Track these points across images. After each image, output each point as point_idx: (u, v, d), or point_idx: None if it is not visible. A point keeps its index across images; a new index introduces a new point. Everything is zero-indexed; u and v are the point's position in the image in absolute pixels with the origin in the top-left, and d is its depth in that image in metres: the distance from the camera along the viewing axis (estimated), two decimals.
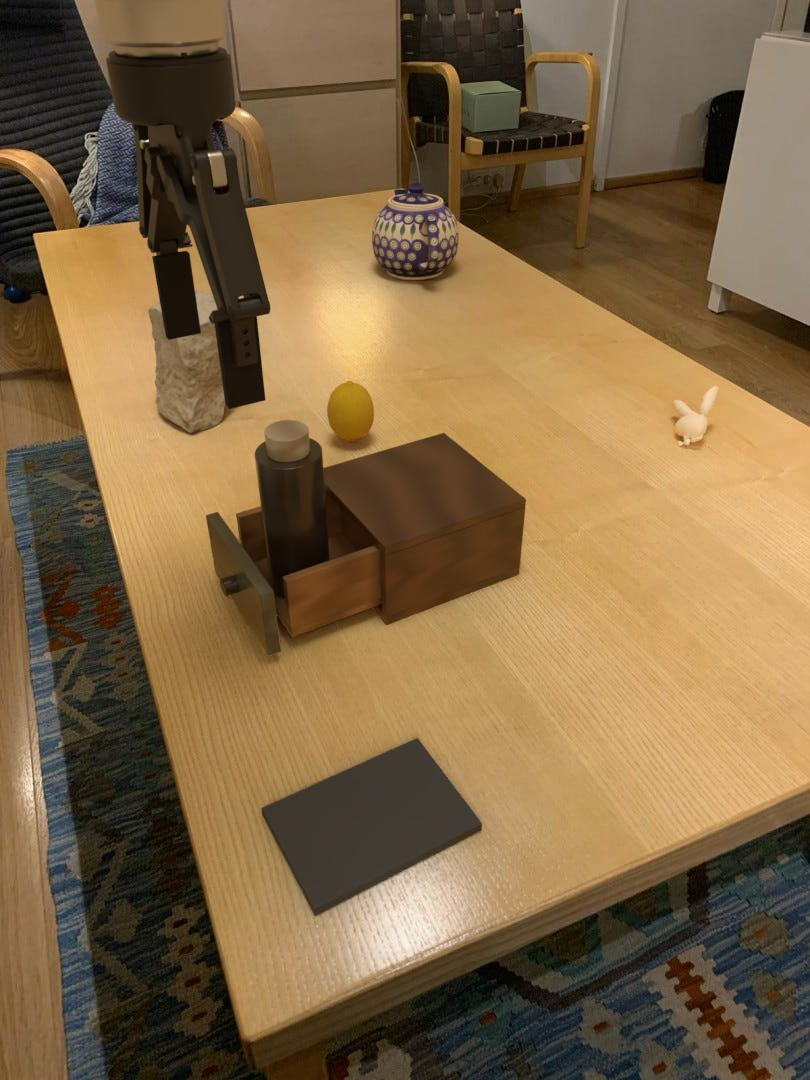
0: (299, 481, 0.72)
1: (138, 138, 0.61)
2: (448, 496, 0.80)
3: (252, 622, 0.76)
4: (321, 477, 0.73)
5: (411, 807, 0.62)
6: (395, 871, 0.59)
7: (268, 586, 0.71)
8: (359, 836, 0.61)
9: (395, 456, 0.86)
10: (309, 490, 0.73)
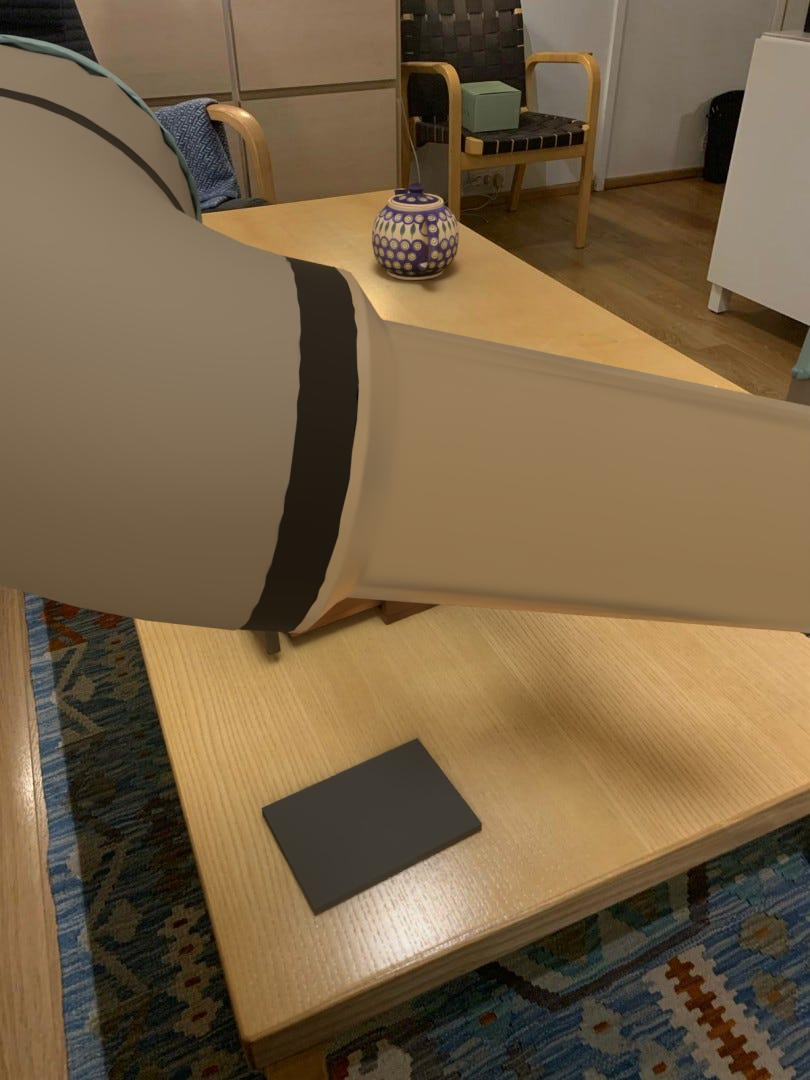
0: None
1: None
2: None
3: None
4: None
5: (411, 807, 0.62)
6: (395, 871, 0.59)
7: None
8: (359, 836, 0.61)
9: None
10: None
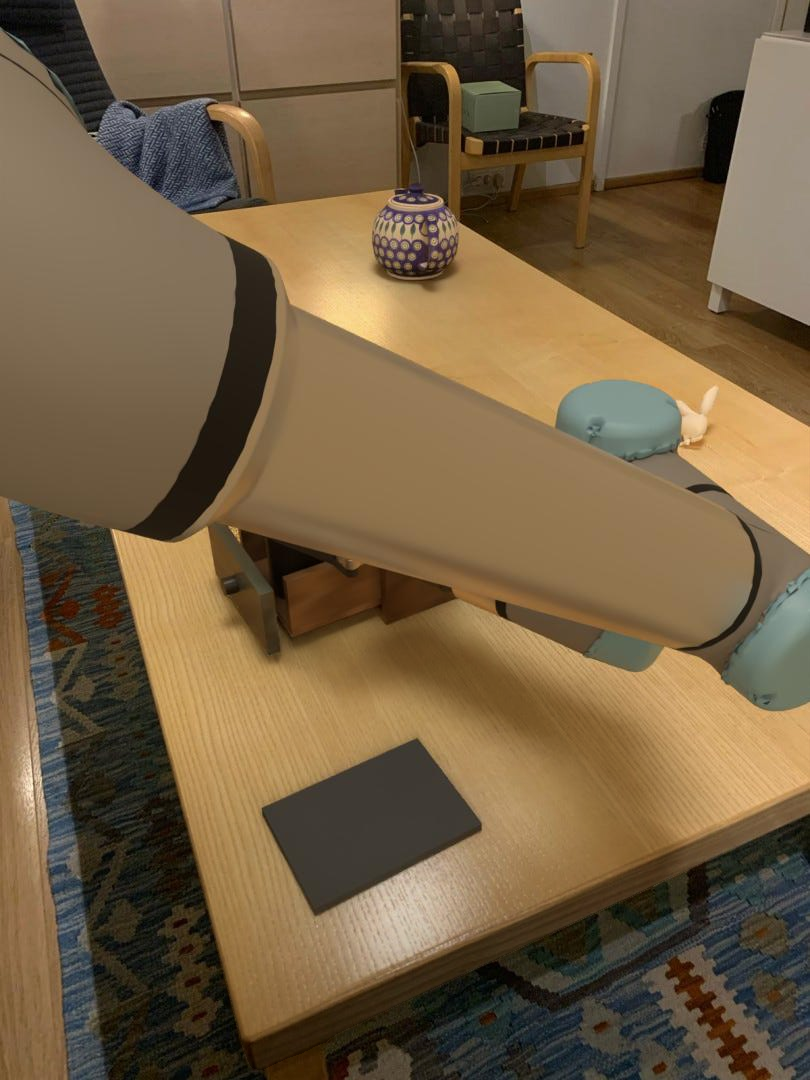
0: None
1: None
2: None
3: (252, 622, 0.76)
4: None
5: (411, 807, 0.62)
6: (395, 871, 0.59)
7: (268, 586, 0.71)
8: (359, 836, 0.61)
9: None
10: None
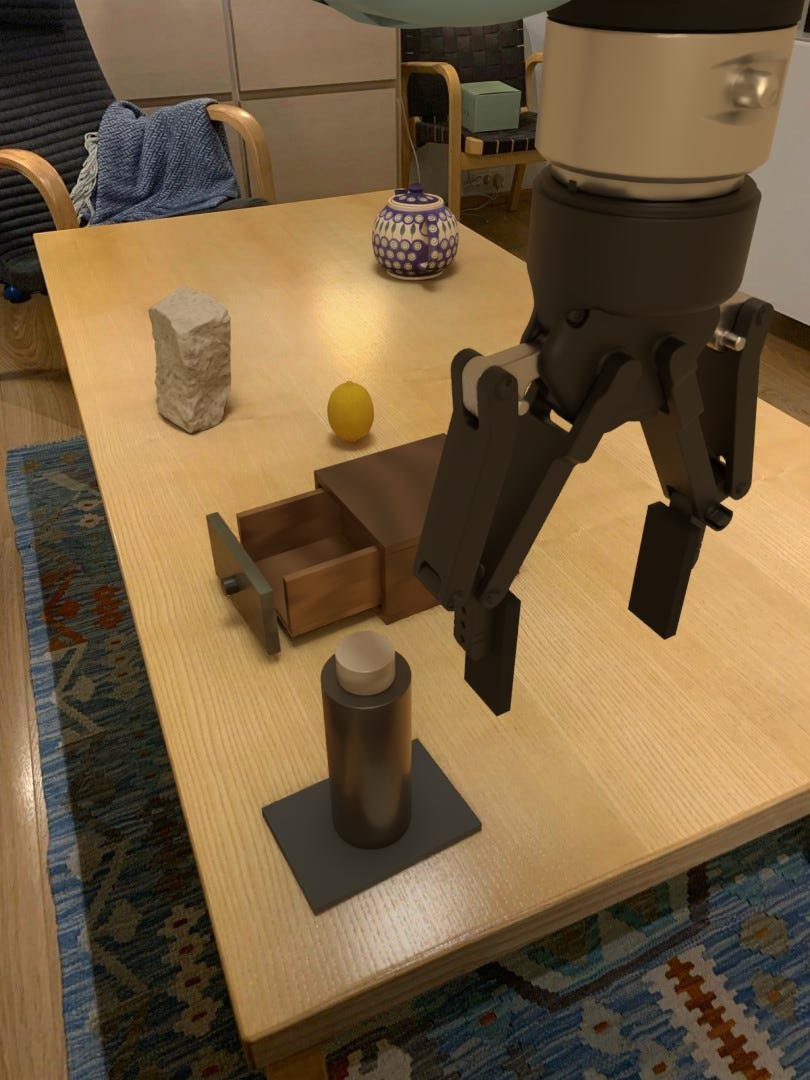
0: (383, 721, 0.52)
1: None
2: None
3: (252, 622, 0.76)
4: (409, 707, 0.54)
5: (411, 807, 0.62)
6: (395, 871, 0.59)
7: (268, 586, 0.71)
8: None
9: (395, 456, 0.86)
10: (395, 728, 0.53)
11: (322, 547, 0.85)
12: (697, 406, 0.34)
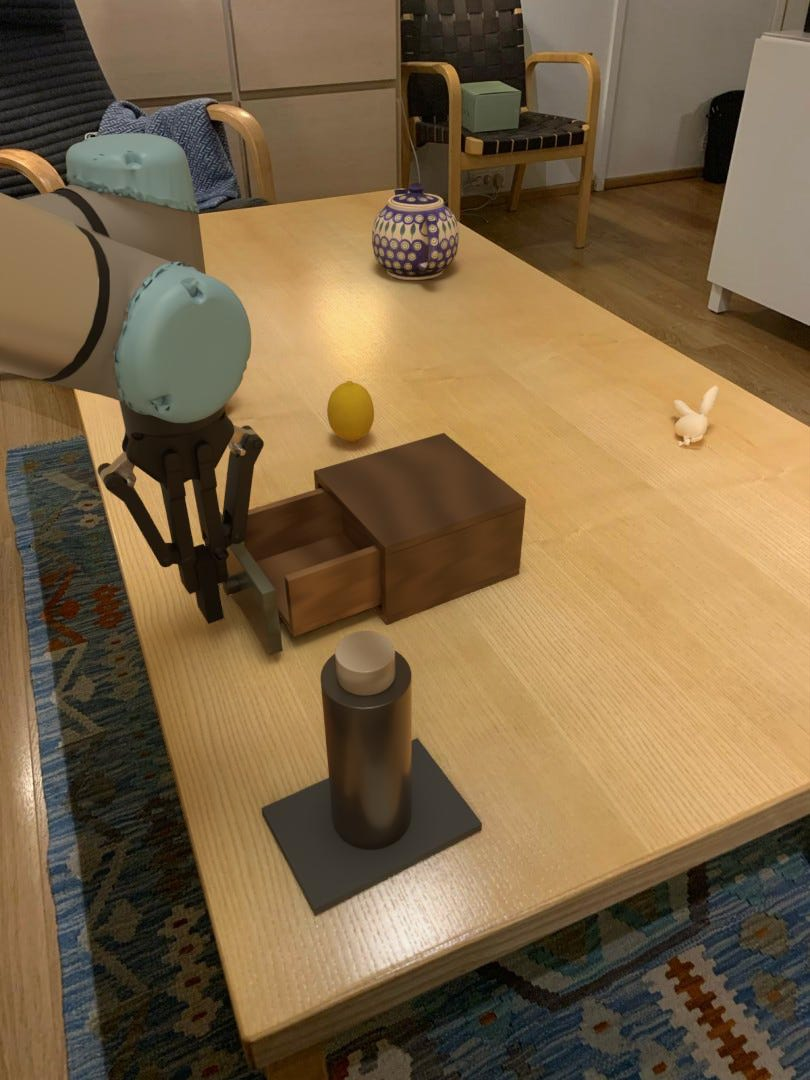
0: (383, 721, 0.52)
1: None
2: (448, 496, 0.80)
3: (254, 621, 0.76)
4: (409, 707, 0.54)
5: (411, 807, 0.62)
6: (395, 871, 0.59)
7: (270, 585, 0.72)
8: None
9: (395, 456, 0.86)
10: (395, 728, 0.53)
11: (324, 546, 0.85)
12: (213, 481, 0.69)
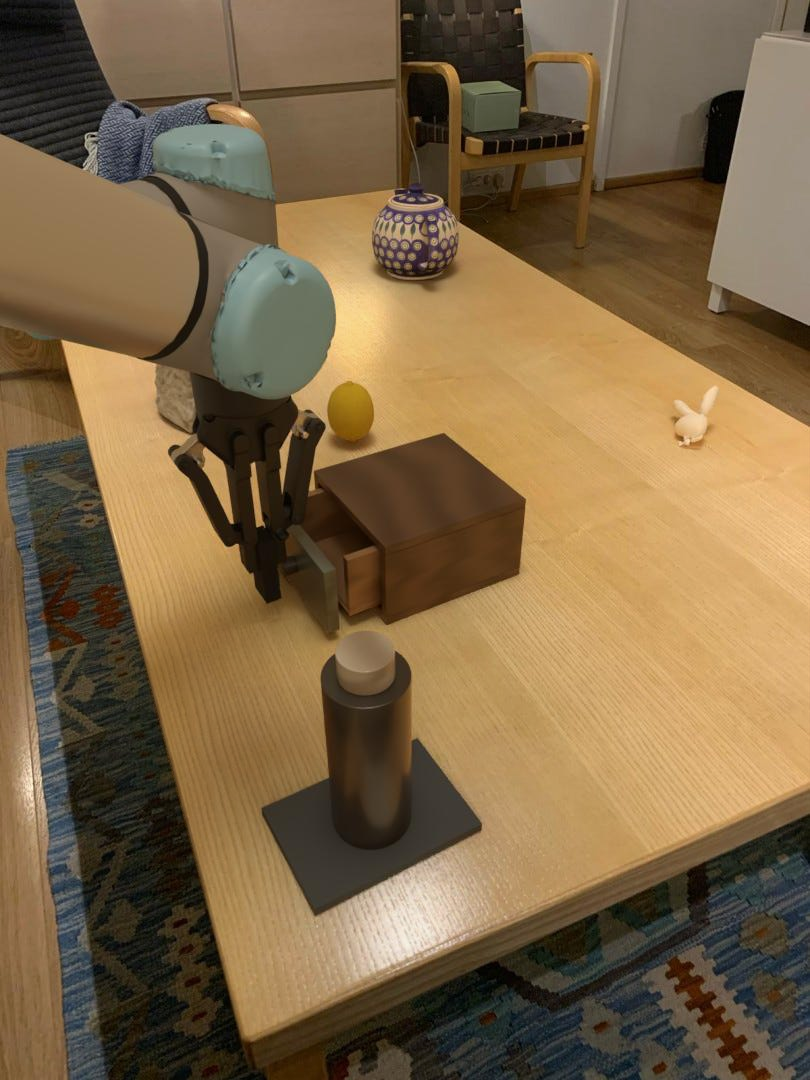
0: (383, 721, 0.52)
1: None
2: (448, 496, 0.80)
3: (311, 601, 0.78)
4: (409, 707, 0.54)
5: (411, 807, 0.62)
6: (395, 871, 0.59)
7: (330, 565, 0.74)
8: None
9: (395, 456, 0.86)
10: (395, 728, 0.53)
11: None
12: (277, 463, 0.71)
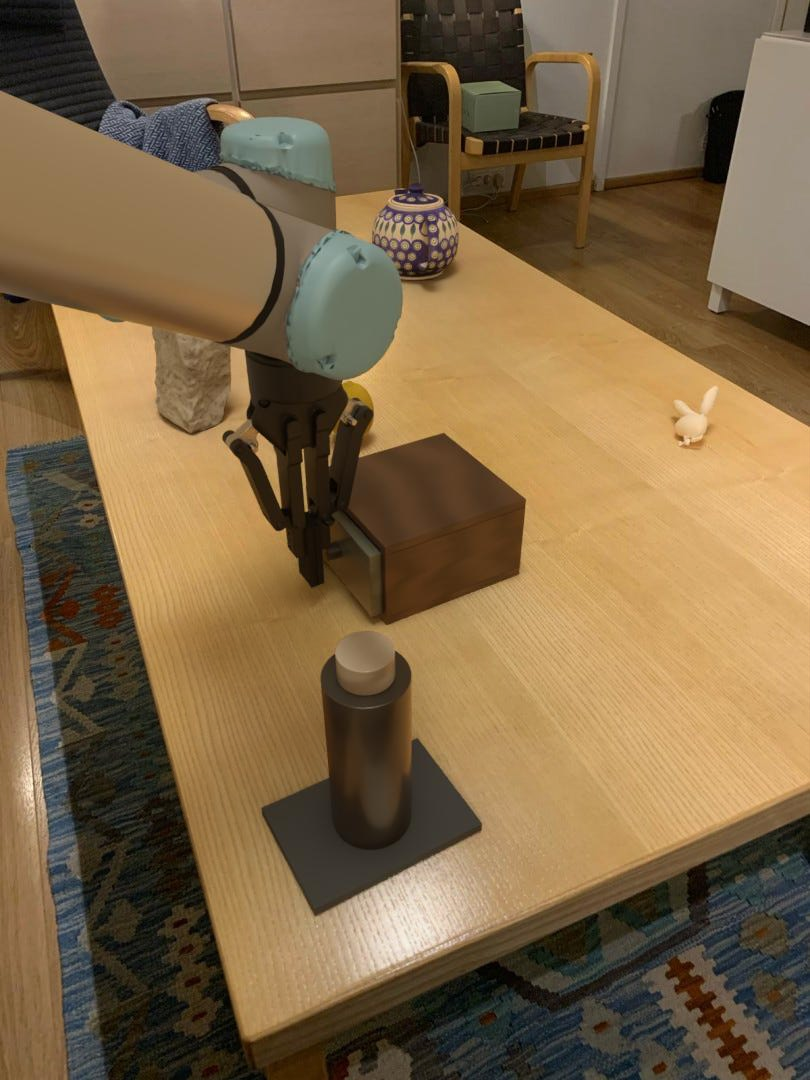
0: (383, 721, 0.52)
1: None
2: (448, 496, 0.80)
3: (354, 585, 0.80)
4: (409, 707, 0.54)
5: (411, 807, 0.62)
6: (395, 871, 0.59)
7: (376, 549, 0.75)
8: None
9: (395, 456, 0.86)
10: (395, 728, 0.53)
11: None
12: (327, 449, 0.73)
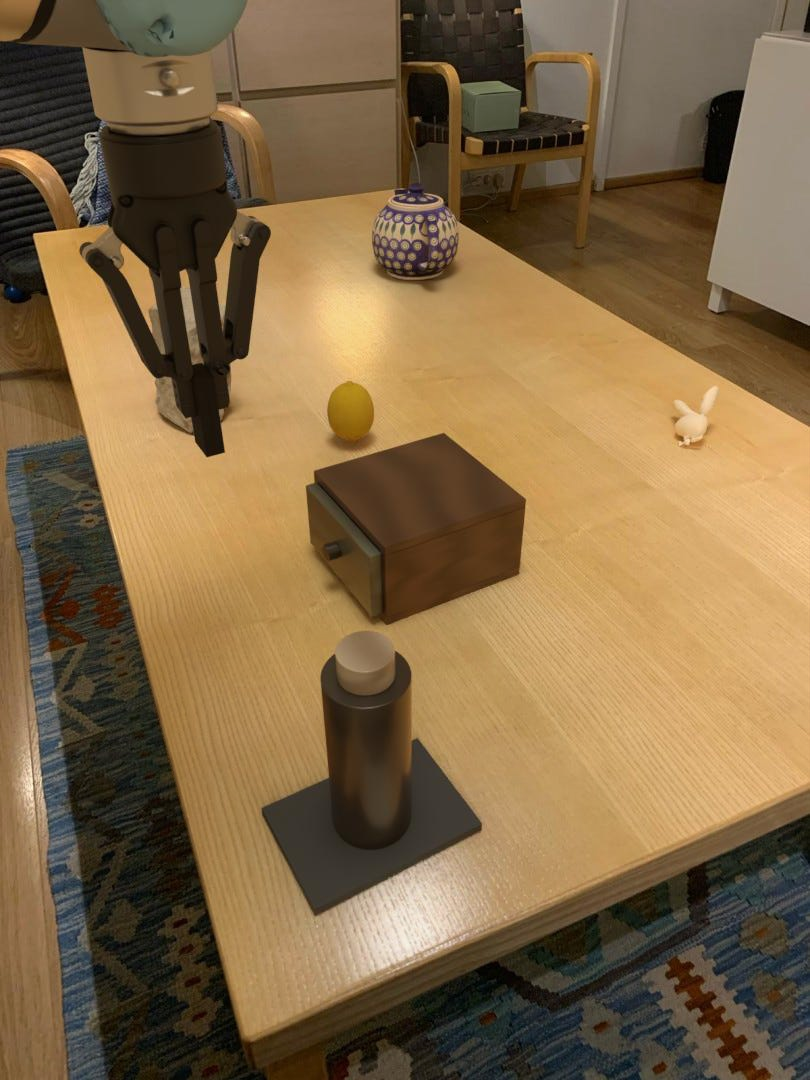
0: (383, 721, 0.52)
1: None
2: (448, 496, 0.80)
3: (354, 585, 0.80)
4: (409, 707, 0.54)
5: (411, 807, 0.62)
6: (395, 871, 0.59)
7: (376, 549, 0.75)
8: None
9: (395, 456, 0.86)
10: (395, 728, 0.53)
11: None
12: (212, 272, 0.60)
